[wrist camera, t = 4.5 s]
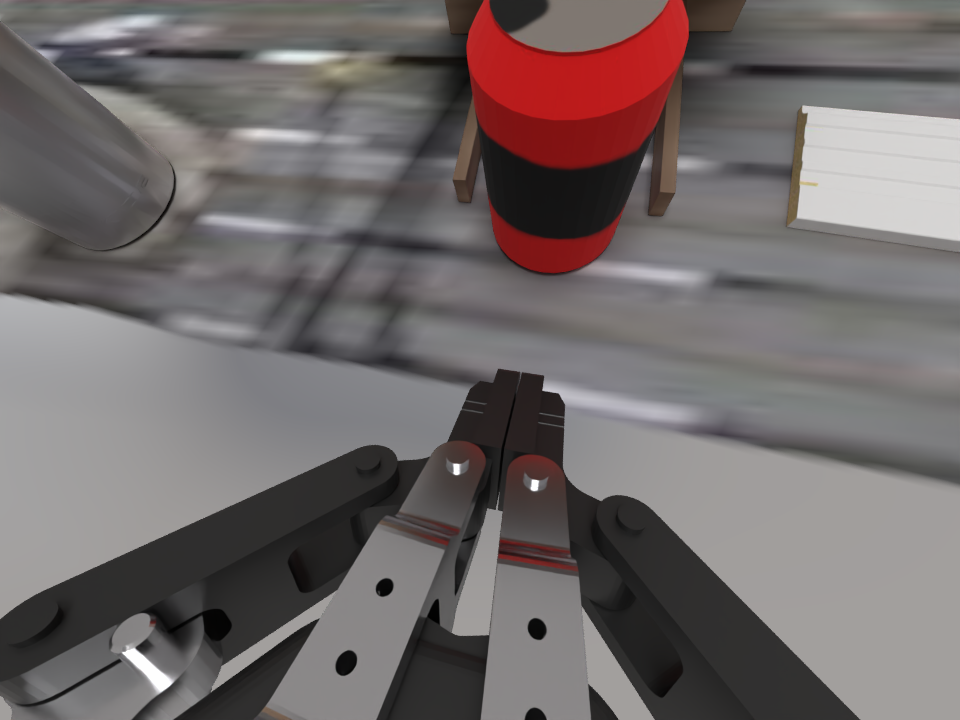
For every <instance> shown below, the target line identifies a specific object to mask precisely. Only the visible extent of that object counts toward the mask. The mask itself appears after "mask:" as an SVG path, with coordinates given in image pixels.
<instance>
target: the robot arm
mask: <svg viewBox="0 0 960 720" xmlns="http://www.w3.org/2000/svg"><path fill="white" fill-rule="evenodd" d="M173 183H174V176H173V171H172V167H171V165H170V163H169V161H168V160H167V159H166V158H165V157H164V156H163V155H162V154H161V153H160V152H158V151H157V150H156V149H155V148H153V147H152V146H151V145H150V144H149V143H147V142H146V141H145V140H144V139H143V138H141V137H140V136H139V135H138V134H136V133H135V132H134V131H133V130H132V129H130V128H129V127H128V126H127V125H126V124H124V123H123V122H122V121H121V120H120V119H118V118H117V117H116V116H115V115H113V114H112V113H111V112H110V111H109V110H108V109H107V108H105V107H104V106H103V105H102V104H101V103H99V102H98V101H97V100H96V99H94V98H93V97H92V96H91V95H90V94H88V93H87V92H86V91H85V90H84V89H82V88H81V87H80V86H79V85H78V84H76V83H75V82H74V81H73V80H71V79H70V78H69V77H68V76H67V75H65V74H64V73H63V72H62V71H61V70H59V69H58V68H57V67H56V66H54V65H53V64H52V63H51V62H50V61H48V60H47V59H46V58H45V57H44V56H42V55H41V54H40V53H39V52H37V51H36V50H35V49H34V48H33V47H31V46H30V45H29V44H28V43H27V42H25V41H24V40H23V39H22V38H21V37H19V36H18V35H17V34H16V33H14V32H13V31H12V30H11V29H10V28H8V27H7V26H6V25H5V24H4V23H2V22H1V21H0V208H2V209H4V210H6V211H8V212H10V213H12V214H14V215H16V216H18V217H20V218H22V219H24V220H27V221H29V222H31V223H33V224H35V225H37V226H39V227H41V228H44V229H46V230H48V231H50V232H52V233H54V234H56V235H58V236H61V237H63V238H65V239H67V240H69V241H71V242H73V243H75V244H78V245H80V246H82V247H85V248H88V249H91V250H106V249H113V248H116V247H119V246H122V245H125V244H127V243H128V242H130V241H132V240H134V239H136V238H137V237H139V236H140V235H141V234H143V233H144V232H145V231H147V230H148V229H149V228H150V227H151V226H152V225H153V224H154V223H155V222H156V221H157V220H158V218H159V217H160V215H161V214H162V213H163V211H164V210H165V208H166V206H167V204H168V202H169V200H170V197H171V194H172V190H173ZM543 381H544V376H543V375H537V374H530V373H524V372H522V374H521V379H520V372H517V371H510V370H504V369H498V371H497V374H496V376H495V379H494V382H493V383H489V382H483V381H480V382H478V383H477V384H476V385H475V386H473V387H472V388H471V389H470V391H469V393H468V395H467V398H466V401H465V402H464V405H463V407H462V410H461V411H460V414H459V416H458V418H457V421H456V423H455V425H454V428H453V430H452V432H451V435H450V437H449V439H448V442H447V443H444V444H442V445H440V446H439V447H437V448H436V449H435V450H434V452H433V453H432V455H431V456H430V457H428V458H424V459H418V460H404V461H397V457H396V455H395V453H394V452H393V451H392V450H390V449H389V448H387V447H384V446H379V445H369V446H364V447H361V448H358V449H356V450H354V451H351V452H349V453H347V454H344V455H342V456H340V457H338V458H336V459H334V460H331V461H329V462H327V463H325V464H322V465H320V466H318V467H316V468H314V469H311V470H309V471H307V472H305V473H303V474H300V475H298V476H296V477H294V478H291V479H289V480H287V481H285V482H283V483H281V484H278V485H276V486H274V487H272V488H269V489H267V490H265V491H263V492H261V493H258V494H256V495H254V496H252V497H250V498H247V499H245V500H243V501H241V502H239V503H236V504H234V505H232V506H230V507H228V508H225V509H223V510H221V511H219V512H217V513H214V514H212V515H210V516H208V517H205V518H203V519H201V520H199V521H197V522H195V523H192V524H190V525H188V526H186V527H183V528H181V529H179V530H177V531H175V532H172V533H170V534H168V535H166V536H164V537H161V538H159V539H157V540H155V541H153V542H150V543H148V544H146V545H144V546H141V547H139V548H137V549H135V550H133V551H130V552H128V553H126V554H124V555H122V556H120V557H117V558H115V559H113V560H111V561H108V562H106V563H104V564H102V565H100V566H97V567H95V568H93V569H91V570H88V571H86V572H84V573H82V574H80V575H78V576H75V577H73V578H71V579H69V580H66V581H64V582H62V583H60V584H58V585H55V586H53V587H51V588H49V589H47V590H44V591H42V592H41V593H38V594H36V595H34V596H33V597H31V598H30V599H28V600H26V601H24V602H23V603H21V604H20V605H18V606H17V607H15V608H14V609H13V610H11V611H10V612H9V613H8V614H6V615H5V616H4V617H3V618H1V619H0V696H2V697H3V698H4V700H5V702H6V703H7V704H8V705H9V706H11V709H12V718H11V720H618V718H617V717H616V715H615V714H614V712H613V711H612V710H611V708H610V707H609V706H608V705H607V704H606V702H605V701H604V700H603V699H602V697H601V696H600V695H599V694H598V693H597V692H596V691H595V690H594V689H593V688H592V687H591V686H590V685H589V684H588V678H587V667H586V656H585V655H586V654H585V643H584V632H583V620H582V607H583V608H584V610H585V612H586V613H587V615H588V616H589V618H590V619H591V621H592V622H593V624H594V626H595V627H596V629H597V630H598V632H599V633H600V635H601V637H602V638H603V640H604V641H605V643H606V644H607V646H608V647H609V649H610V651H611V652H612V654H613V655H614V656H615V658H616V660H617V661H618V663H619V664H620V666H621V668H622V669H623V671H624V672H625V674H626V675H627V677H628V679H629V680H630V682H631V683H632V685H633V686H634V688H635V689H636V691H637V693H638V694H639V696H640V697H641V699H642V700H643V702H644V703H645V705H646V707H647V708H648V710H649V711H650V713H651V714H652V716H653V718H654V719H655V720H860V719H859V718H858V717H857V716H856V715H855V714H854V713H853V712H852V711H851V710H850V709H849V708H848V707H847V706H846V705H845V704H844V703H843V702H842V701H841V700H840V699H839V698H838V697H837V696H836V695H835V694H834V693H833V692H832V691H831V690H830V689H829V688H828V687H827V686H826V685H825V684H824V683H823V682H822V681H821V680H820V679H819V678H818V677H817V676H816V675H815V674H814V673H813V672H812V671H811V670H810V669H809V668H808V667H807V666H806V665H805V664H804V663H803V662H802V661H801V660H800V659H799V658H798V657H797V656H796V655H795V654H794V653H793V652H792V651H791V650H790V649H789V648H788V647H787V646H786V644H784V642H782V640H781V639H780V638H779V637H778V636H776V635H775V633H774V632H772V630H771V629H770V628H769V627H768V626H767V625H766V624H765V623H764V622H763V621H762V620H761V619H760V618H759V617H758V616H757V615H756V614H755V613H754V612H753V611H752V610H751V609H750V608H749V607H748V606H747V605H746V604H745V603H744V602H743V601H742V600H741V599H740V598H739V597H738V596H737V595H736V594H735V593H734V592H733V591H732V590H731V589H730V588H729V587H728V586H727V585H726V584H725V583H724V582H723V581H722V580H721V579H720V578H719V577H718V576H717V575H716V574H715V573H714V572H713V571H712V570H711V569H710V568H709V567H708V566H707V565H706V564H705V563H704V562H703V561H702V560H701V559H700V558H699V557H698V556H697V555H696V554H695V553H694V552H693V551H692V550H691V549H690V548H689V547H688V546H687V545H686V544H685V543H684V542H683V541H682V540H681V539H680V538H679V537H678V536H677V535H676V534H675V533H674V532H673V531H672V530H671V529H670V528H669V526H667V524H666V523H665V522H663V520H662V519H661V518H660V517H659V516H657V514H656V513H655V512H654V511H653V510H651V509H650V508H649V507H648V506H647V505H645V504H644V503H642V502H640V501H639V500H636V499H634V498H631V497H628V496H622V495H615V496H610V497H607V498H605V499H604V500H603V501H599V500H597V499H595V498H593V497H591V496H589V495H587V494H585V493H583V492H581V491H580V490H578V489H577V488H576V487H575V486H574V485H572V483H571V482H570V481H569V480H568V478H567V477H566V475H565V473H564V470H563V442H564V416H565V404H564V402H563V400H562V399H561V397H560V395H559V394H558V393H552V392H545V391H542V389H543ZM519 382H520V383H519ZM499 491H500V495H499ZM498 495H499V505H498V510H499V511H503V514H502V523H501V531H500V532H501V533H500V541H499V549H498V559H497V568H496V577H495V586H494V596H493V605H492V614H491V623H490V632H489V635H486V636H457V635H454V634H453V633H451V632H452V628H453V623H454V618H455V612H456V608H457V605H458V601H459V597H460V594H461V592H462V589H463V585H464V583H465V580H466V576H467V574H468V571H469V567H470V564H471V561H472V558H473V555H474V552H475V549H476V546H477V543H478V540H479V537H480V533H481V528H482V526H483V523H484V519H485V515H486V511H487V508H489V509H494V510H496V505H497V500H498ZM336 590H337V592H336V593H335V595H334V596H333V598H332V600H331V601H330V603H329V605H328V606H327V608H326V609H325V611H324V613H323V614H322V616H321V618H319V619H317V620H315V621H313V622H311V623H310V624H308V625H306V626H304V627H302V628H300V629H299V630H297V631H296V632H294V633H293V634H292V635H290V636H289V637H287V638H286V639H285V640H283V641H282V642H280V643H279V644H278V645H276V646H275V647H274V648H272V649H271V650H269V651H268V652H267V653H265V654H264V655H263V656H261V657H260V658H258V659H257V660H255V661H254V662H253V663H251V664H250V665H249V666H247V667H246V668H244V669H243V670H242V671H240V672H239V673H238V674H236V675H235V676H233V677H232V678H230V679H229V680H228V681H226V682H225V683H224V684H222V685H221V686H219V687H218V688H217V689H215V690H214V691H212V692H211V690H212V686H213V684H214V682H215V681H216V679H217V677H218V674H219V672H220V669H221V666H222V665H224V664H225V663H227V662H228V661H230V660H231V659H233V658H234V657H236V656H238V655H239V654H241V653H242V652H243V651H245V650H247V649H248V648H249V647H251V646H253V645H254V644H256V643H257V642H259V641H260V640H262V639H263V638H265V637H266V636H268V635H269V634H271V633H273V632H274V631H276V630H277V629H279V628H280V627H281V626H283V625H285V624H286V623H288V622H289V621H291V620H292V619H294V618H295V617H297V616H298V615H300V614H301V613H303V612H304V611H306V610H307V609H309V608H310V607H312V606H313V605H315V604H316V603H318V602H319V601H321V600H323V599H324V598H326V597H327V596H329V595H330V594H332V593H333V592H335V591H336ZM581 605H582V607H581Z"/></svg>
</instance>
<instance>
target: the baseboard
mask: <svg viewBox="0 0 960 720" xmlns="http://www.w3.org/2000/svg"><path fill="white" fill-rule="evenodd" d="M786 227H791V228H798V229H804V230H811V231H818V232H825V233H832V234H838V235H845V236H852V237H859V238H866V239H872V240H879V241H886V242H893V243H900V244H906V245H913V246H920V247H927V248H934V249H941V250H947V251H954V252H960V120H959V119H948V118H937V117H925V116H914V115H903V114H892V113H880V112H869V111H858V110H846V109H835V108H824V107H812V106H802V107H801V108H800V109H799V111H798V121H797V130H796V140H795V149H794V159H793V169H792V178H791V188H790V198H789V207H788V217H787V226H786Z"/></svg>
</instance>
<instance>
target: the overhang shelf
mask: <svg viewBox="0 0 960 720" xmlns="http://www.w3.org/2000/svg"><path fill="white" fill-rule="evenodd" d="M483 1H484V0H445V4H446V9H447V15H448V20H449V26H450V31H451V34H466V33H469V30H470V28H471V26H472V23H473V21H474V19H475V17H476V15H477V13H478V11H479V9H480V7H481V5H482V3H483ZM682 1H683V4H684V7H685V10H686V13H687V17H688V20H689V31H732V29H733V27H734V24H735V22H736V20H737V18H738V16H739V14H740V12H741V10H742V8H743V6H744V4H745V2H746V0H682ZM683 61H684V55H683V58H682V61H681V63H680V66H679V68H678V71H677V73H676V76H675V79H674V81H673V84H672V86H671V89H670V91H669V94H668V97H667V99H666V102H665V104H664V107H663V109H662V112H661V115H660V117H659V120H658V122H657V125H656V129H655V141H654V153H653V166H652V178H651V190H650V203H649V215H656V216H663V214H664V212H665V210H666V209H667V207H668V205H669V203H670V201H671V200H672V198H673V196H674V194H675V190H676V174H677V158H678V142H679V126H680V110H681V94H682V77H683ZM480 155H481V146H480V139H479V133H478V126H477V120H476V113H475V106H474V100H473V94H472V99H471V103H470V107H469V112H468V116H467V120H466V125H465V129H464V133H463V137H462V142H461V146H460V150H459V155H458V159H457V163H456V168H455V172H454V176H453V182H454V186H455V190H456V193H457V197H458V201H459V202H471V197H472V192H473V188H474V183H475V179H476V174H477V169H478V165H479V160H480Z"/></svg>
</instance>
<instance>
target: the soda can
mask: <svg viewBox="0 0 960 720" xmlns="http://www.w3.org/2000/svg"><path fill="white" fill-rule="evenodd" d="M688 38H689V20H688V17H687V13H686V10H685V7H684V4H683V1H682V0H484V1H483V3H482V5H481V7H480V9H479V11H478V13H477V15H476V17H475V19H474V21H473V23H472V26H471V28H470V30H469V35H468V40H467V60H468V67H469V74H470V80H471V87H472V93H473V100H474V106H475V113H476V120H477V126H478V133H479V139H480V146H481V153H482V159H483V166H484V172H485V179H486V185H487V192H488V199H489V205H490V212H491V218H492V225H493V231H494V234H495V237H496V240H497V242H498V244H499V246H500V247H501V249H502V250H503V251H504V253H505V254H506V255H507V256H508V257H509V258H510V259H512V260H513V261H515V262H516V263H517V264H519V265H521V266H523V267H526V268H528V269H530V270H534V271H539V272H546V273H559V272H567V271H570V270H574V269H577V268H580V267H582V266H584V265H586V264H588V263H590V262H591V261H593V260H594V259H595V258H596V257H598V256H599V255H600V254H601V253H602V252H603V251H604V250H605V248H606V247H607V246H608V245H609V243H610V241H611V239H612V237H613V235H614V233H615V230H616V228H617V225H618V222H619V220H620V217H621V215H622V212H623V210H624V207H625V204H626V202H627V199H628V197H629V194H630V192H631V189H632V186H633V184H634V181H635V179H636V176H637V174H638V171H639V168H640V166H641V163H642V161H643V158H644V156H645V153H646V151H647V148H648V145H649V143H650V140H651V138H652V135H653V133H654V130H655V127H656V125H657V122H658V120H659V117H660V115H661V112H662V109H663V107H664V104H665V102H666V99H667V97H668V94H669V91H670V89H671V86H672V84H673V81H674V79H675V76H676V73H677V71H678V68H679V66H680V63H681V61H682V58H683V55H684V53H685V49H686V45H687V41H688Z"/></svg>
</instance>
